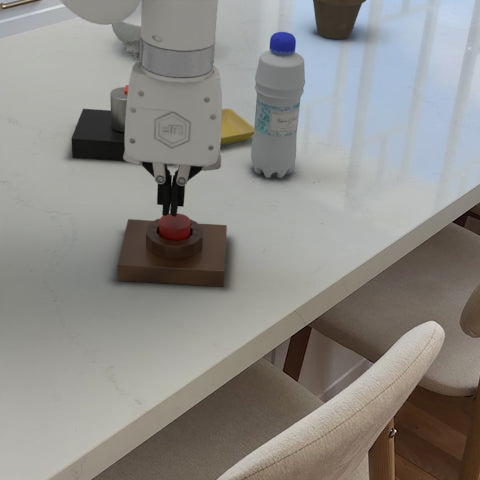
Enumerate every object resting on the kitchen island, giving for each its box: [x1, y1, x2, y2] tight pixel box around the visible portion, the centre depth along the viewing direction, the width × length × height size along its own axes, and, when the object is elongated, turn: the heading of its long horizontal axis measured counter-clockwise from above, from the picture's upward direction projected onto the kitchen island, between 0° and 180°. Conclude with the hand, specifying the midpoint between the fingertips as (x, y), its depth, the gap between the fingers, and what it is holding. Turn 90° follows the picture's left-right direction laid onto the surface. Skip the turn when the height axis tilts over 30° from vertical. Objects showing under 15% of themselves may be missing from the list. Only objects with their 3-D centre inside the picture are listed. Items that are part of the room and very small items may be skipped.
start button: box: [159, 212, 191, 241], centre depth 103 cm, size 4×4×2 cm
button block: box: [117, 218, 228, 287], centre depth 104 cm, size 12×10×4 cm
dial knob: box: [109, 84, 129, 132], centre depth 125 cm, size 4×4×5 cm
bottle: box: [250, 31, 306, 179], centre depth 120 cm, size 7×7×20 cm
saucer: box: [220, 108, 255, 147], centre depth 133 cm, size 9×9×2 cm
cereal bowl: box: [111, 1, 142, 46], centre depth 159 cm, size 17×17×7 cm
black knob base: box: [70, 108, 126, 162], centre depth 128 cm, size 14×10×3 cm
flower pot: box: [312, 0, 367, 40], centre depth 172 cm, size 12×11×10 cm
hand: (170, 209), depth 101 cm, fingers closed
